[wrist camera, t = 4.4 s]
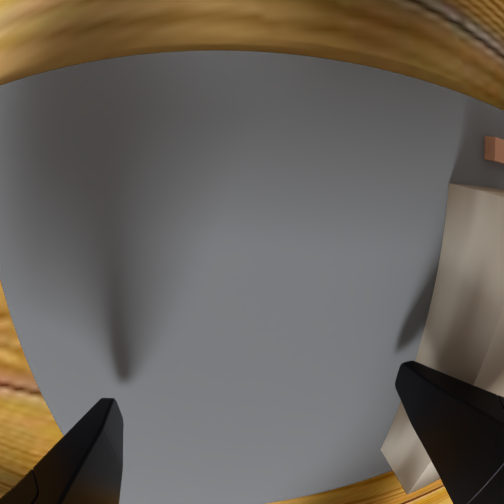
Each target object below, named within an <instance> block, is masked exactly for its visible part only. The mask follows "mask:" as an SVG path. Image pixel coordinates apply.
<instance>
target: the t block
mask: <svg viewBox="0 0 504 504" xmlns="http://www.w3.org/2000/svg"><path fill="white" fill-rule="evenodd" d="M415 361H416V362H418V363H420V364H423V365H425V366H428V367H430V368H432V369H435V370H437V371H440V372H442V373H444V374H447V375H449V376H452V377H454V378H457V379H459V380H462V381H464V382H467V383H469V384H471V385H474V386H477V387H479V388H482V389H484V390H487V391H489V392H492V393H494V394H497V396H498V395H500V396H502V397H504V190H503V189H497V188H489V187H481V186H472V185H463V184H453V183H449V188H448V200H447V210H446V219H445V227H444V234H443V241H442V248H441V254H440V260H439V265H438V271H437V276H436V281H435V286H434V291H433V295H432V300H431V304H430V308H429V312H428V316H427V320H426V324H425V328H424V332H423V335H422V339H421V342H420V346H419V349H418V353H417V356H416V359H415ZM381 451H382V453H383V455H384V456H385V458H386V460H387V461H388V463H389V465H390V466H391V468H392V470H393V472H394V473H395V475H396V477H397V478H398V480H399V482H400V483H401V485H402V487H403V489H404V490H405V492H406V494H410V493H412V492H414V491H416V490H418V489H420V488H422V487H425V486H427V485H429V484H431V483H433V482H435V481H437V480H438V479H440V477H439V475H438V473H437V471H436V469H435V467H434V465H433V463H432V461H431V460H430V458H429V456H428V454H427V452H426V450H425V448H424V447H423V445H422V443H421V441H420V439H419V438H418V436H417V434H416V432H415V430H414V429H413V427H412V425H411V423H410V421H409V418H408V416H407V414H406V411H405V409H404V407H403V404H402V402H400V405H399V408H398V410H397V413H396V415H395V418H394V420H393V422H392V425H391V427H390V430H389V432H388V434H387V437H386V439H385V441H384V443H383V445H382V448H381Z"/></svg>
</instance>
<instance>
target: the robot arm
mask: <svg viewBox="0 0 504 504" xmlns="http://www.w3.org/2000/svg"><path fill="white" fill-rule="evenodd" d="M395 388H396V390H397V393H398V395H399V397H400V400H401V402H402V404H403V407H404V409H405V411H406V414H407V416H408V418H409V421H410V423H411V425H412V427H413V429H414V430H415V432H416V434H417V436H418V438H419V439H420V441H421V443H422V445H423V447H424V448H425V450H426V452H427V454H428V456H429V458H430V460H431V461H432V463H433V465H434V467H435V469H436V471H437V473H438V475H439V477H440V478H441V480H442V482H443V484H444V486H445V488H446V490H447V492H448V494H449V496H450V498H451V500H452V502H453V504H504V397H502V396H500V395H498V396H497V394H494V393H492V392H489V391H487V390H484V389H482V388H479V387H477V386H474V385H471V384H469V383H467V382H464V381H462V380H459V379H457V378H454V377H452V376H449V375H447V374H444V373H442V372H440V371H437V370H435V369H432V368H430V367H428V366H425V365H423V364H420V363H418V362H416V361H413V360H410V361H407V362H403V363H402V364H401V365H400V367H399V371H398V374H397V377H396V380H395ZM123 429H124V422H123V417H122V414H121V412H120V409H119V406H118V404H117V401H116V400H115V399H114V398H101V399H100V400H99V401H98V402H97V403H96V404H95V405H94V406H93V407H92V408H91V409H90V410H89V411H88V412H87V413H86V414H85V415H84V416H83V417H82V418H81V419H80V420H79V421H78V422H77V423H76V424H75V425H74V426H73V427H72V428H71V429H70V430H69V431H68V432H67V433H66V434H65V435H64V436H63V437H62V438H61V440H60V441H59V442H58V443H57V444H56V445H55V446H54V447H53V448H52V449H51V450H50V451H49V452H48V453H47V454H46V455H45V456H44V457H43V458H42V459H41V460H40V461H39V462H38V463H37V464H36V465H35V466H34V467H33V470H32V469H31V470H30V471H29V472H28V473H27V474H26V475H25V476H24V477H23V478H22V479H21V480H20V481H19V482H18V483H17V484H16V485H15V486H14V487H13V488H12V489H11V490H10V491H8V492H7V493H6V494H5V495H4V496H2V497H1V498H0V504H119V500H120V490H121V481H122V472H123Z"/></svg>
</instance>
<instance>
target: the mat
mask: <svg viewBox="0 0 504 504" xmlns="http://www.w3.org/2000/svg"><path fill="white" fill-rule="evenodd" d="M449 183H453V184H463V185H472V186H481V187H489V188H497V189H503V190H504V111H503V110H501V109H499V108H497V107H494V106H492V105H490V104H487V103H485V102H483V101H480V100H478V99H475V98H473V97H470V96H468V95H465V94H462V93H460V92H457V91H454V90H451V89H448V88H445V87H442V86H439V85H436V84H433V83H430V82H427V81H424V80H420V79H417V78H413V77H410V76H406V75H402V74H399V73H395V72H391V71H387V70H383V69H378V68H374V67H369V66H364V65H360V64H354V63H349V62H344V61H338V60H332V59H325V58H318V57H311V56H303V55H294V54H284V53H272V52H256V51H227V50H208V51H178V52H163V53H151V54H141V55H132V56H124V57H117V58H110V59H104V60H98V61H92V62H87V63H82V64H77V65H72V66H68V67H63V68H59V69H55V70H51V71H47V72H43V73H39V74H36V75H32V76H29V77H25V78H22V79H19V80H16V81H12V82H9V83H6V84H3V85H1V86H0V279H1V283H2V287H3V291H4V295H5V298H6V302H7V305H8V308H9V311H10V315H11V318H12V321H13V324H14V327H15V330H16V333H17V336H18V338H19V341H20V344H21V346H22V349H23V352H24V354H25V357H26V359H27V362H28V364H29V367H30V369H31V371H32V374H33V376H34V378H35V380H36V383H37V385H38V387H39V389H40V391H41V393H42V395H43V398H44V400H45V402H46V404H47V406H48V408H49V410H50V411H51V413H52V415H53V417H54V419H55V421H56V423H57V425H58V426H59V428H60V430H61V432H62V433H63V435H65V434H66V433H67V432H68V431H69V430H70V429H71V428H72V427H73V426H74V425H75V424H76V423H77V422H78V421H79V420H80V419H81V418H82V417H83V416H84V415H85V414H86V413H87V412H88V411H89V410H90V409H91V408H92V407H93V406H94V405H95V404H96V403H97V402H98V401H99V400H100V399H101V398H114V399H115V400H116V401H117V404H118V406H119V409H120V412H121V414H122V417H123V422H124V429H123V472H122V481H121V490H120V500H119V504H265V503H271V502H277V501H283V500H289V499H294V498H299V497H304V496H308V495H313V494H317V493H321V492H325V491H329V490H333V489H336V488H340V487H344V486H347V485H350V484H354V483H357V482H360V481H363V480H366V479H369V478H372V477H375V476H378V475H381V474H384V473H386V472H389V471H392V468H391V466H390V465H389V463H388V461H387V460H386V458H385V456H384V455H383V453H382V451H381V448H382V445H383V443H384V441H385V439H386V437H387V434H388V432H389V430H390V427H391V425H392V422H393V420H394V418H395V415H396V413H397V410H398V408H399V405H400V402H401V400H400V397H399V395H398V393H397V390H396V388H395V380H396V377H397V374H398V371H399V367H400V365H401V364H402V363H403V362H407V361H410V360H413V361H415V359H416V356H417V353H418V349H419V346H420V342H421V339H422V335H423V332H424V328H425V324H426V320H427V316H428V312H429V308H430V304H431V300H432V295H433V291H434V286H435V281H436V276H437V271H438V265H439V260H440V254H441V248H442V241H443V234H444V227H445V219H446V210H447V200H448V188H449Z"/></svg>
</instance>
